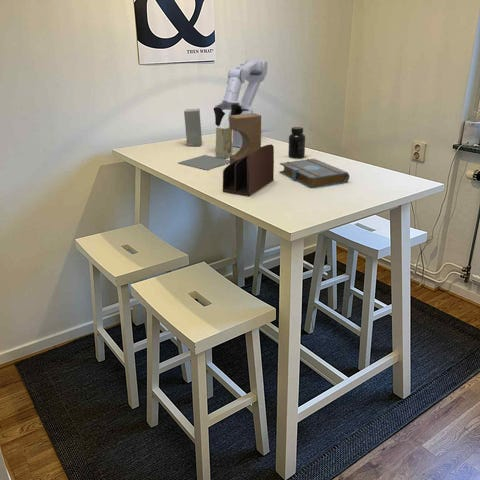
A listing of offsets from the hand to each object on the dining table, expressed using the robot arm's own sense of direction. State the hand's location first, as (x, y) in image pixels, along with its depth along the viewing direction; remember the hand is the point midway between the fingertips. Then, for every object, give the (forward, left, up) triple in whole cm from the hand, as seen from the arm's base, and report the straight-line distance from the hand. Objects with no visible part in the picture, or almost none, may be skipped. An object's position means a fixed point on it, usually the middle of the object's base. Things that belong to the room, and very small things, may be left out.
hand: (224, 124), depth 200 cm
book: (+4, +46, -14) cm, 48 cm away
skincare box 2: (+3, +2, -13) cm, 14 cm away
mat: (+14, +2, -13) cm, 19 cm away
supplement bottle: (-17, +25, -13) cm, 33 cm away
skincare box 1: (-6, -24, -13) cm, 28 cm away
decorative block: (+10, +19, -13) cm, 25 cm away
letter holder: (+27, +34, -13) cm, 46 cm away
